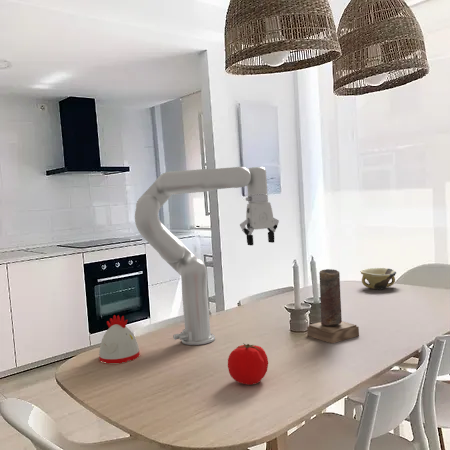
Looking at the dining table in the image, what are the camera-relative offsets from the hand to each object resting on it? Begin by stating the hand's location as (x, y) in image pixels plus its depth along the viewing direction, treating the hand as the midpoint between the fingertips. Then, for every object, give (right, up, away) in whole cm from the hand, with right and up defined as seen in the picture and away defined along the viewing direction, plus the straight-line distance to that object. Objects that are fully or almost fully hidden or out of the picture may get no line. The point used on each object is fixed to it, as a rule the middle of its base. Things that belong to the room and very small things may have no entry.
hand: (261, 243), depth 190 cm
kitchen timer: (-51, -40, -17) cm, 67 cm away
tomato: (-7, -38, -48) cm, 62 cm away
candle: (+25, -29, -10) cm, 40 cm away
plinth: (+25, -33, -10) cm, 43 cm away
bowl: (+66, -26, +66) cm, 97 cm away
